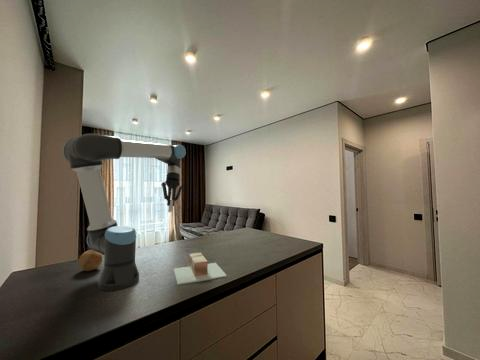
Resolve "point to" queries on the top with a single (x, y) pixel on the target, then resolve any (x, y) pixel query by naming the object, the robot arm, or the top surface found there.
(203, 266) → the wood block
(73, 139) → the robot arm
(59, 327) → the top surface
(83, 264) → the onion
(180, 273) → the rubber mat
